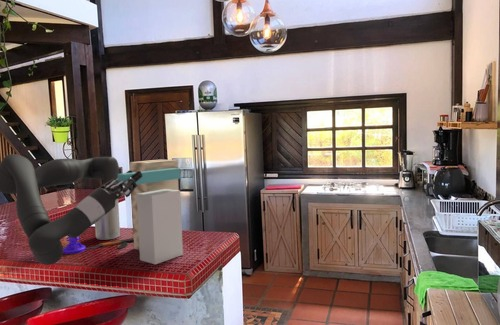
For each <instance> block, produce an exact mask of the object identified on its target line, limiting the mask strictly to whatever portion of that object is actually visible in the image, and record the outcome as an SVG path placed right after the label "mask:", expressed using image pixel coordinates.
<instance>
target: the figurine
mask: <svg viewBox="0 0 500 325" xmlns="http://www.w3.org/2000/svg"><path fill="white" fill-rule="evenodd" d="M79 237H80V236H78V237H76V238H71V237H68V236H66V239H65V242H68V244H66V246H65V247H63V254H65V255H74V253H75V254H80V253H84V252H85V251H86V250H85V249H86V245H84V244H81V242H80V241H81V238H79ZM78 241H79V242H78Z"/></svg>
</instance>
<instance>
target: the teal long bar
mask: <svg viewBox="0 0 500 325" xmlns="http://www.w3.org/2000/svg"><path fill="white" fill-rule="evenodd" d="M135 173H136V172H132V173H126V172H124V173H123V172H122V173H119V174H118V182H121V181H126V180H127V179H128V178H130V177H131V176H132V175H134V174H135ZM141 173H142V175H143V176H142V177H141V178H140V179H139V180H138V181H137V182H136V184H144V183H151V182H159V181H166V180H173V179H178V180H180V179H181V168H179V167H178V168H169V169H159V170H150V171H141ZM127 183H128V182H127ZM122 186H123V187H124V185H123V184H122Z"/></svg>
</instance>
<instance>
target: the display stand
mask: <svg viewBox="0 0 500 325" xmlns="http://www.w3.org/2000/svg"><path fill="white" fill-rule="evenodd" d="M169 168H179V165H178V159H151V160H149V159H148V160H141V161H139V160H138V161H130V162H129V170H131V171H132V172H137V171H140V172H141V171H150V170H159V169H169ZM161 189H171V190H180V189H179V179H173V180H166V181H159V182H151V183H144V184H137V187H136V188H135V189H134V191H133V192H132V193H131V194H130V196H131V198H130V199H131V213H132V214H131V216H132V235H133V237H132V238H134V242H133V249H134V250H138V251H139V231H138V212H137V194H138V193H144V192H150V191H155V190H161Z"/></svg>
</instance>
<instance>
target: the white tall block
mask: <svg viewBox="0 0 500 325" xmlns="http://www.w3.org/2000/svg"><path fill="white" fill-rule="evenodd" d="M181 197H182V196H181V190H180V189H179V190H171V189H161V190H155V191H150V192H144V193H138V194H137V212H138V231H139V250H138V251H139V260H140V261H142V262H145V263H149V264H153V265H158V264H161V263H163V262H166V261H170V260H171V259H175V258H177V257H180V256H184V246H183V244H184V243H183V225H182V224H183V223H182V222H183V221H182V200H181Z"/></svg>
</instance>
